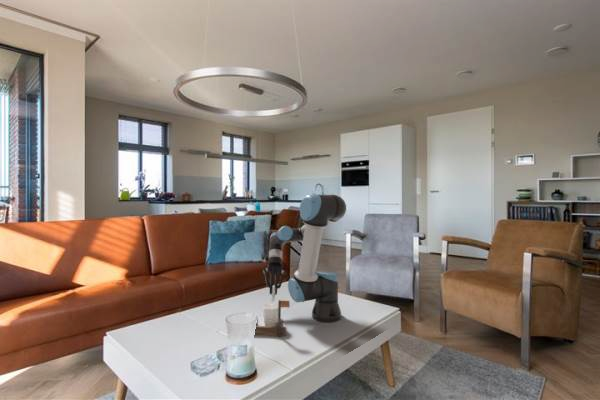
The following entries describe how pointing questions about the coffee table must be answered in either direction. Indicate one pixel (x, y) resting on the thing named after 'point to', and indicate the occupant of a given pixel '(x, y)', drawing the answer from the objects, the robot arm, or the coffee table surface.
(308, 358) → the coffee table surface
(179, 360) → the coffee table surface
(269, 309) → the white cup
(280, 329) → the wooden cup stand
